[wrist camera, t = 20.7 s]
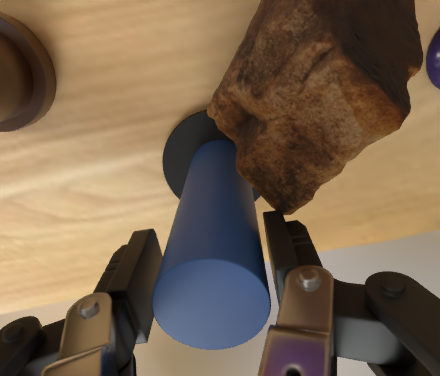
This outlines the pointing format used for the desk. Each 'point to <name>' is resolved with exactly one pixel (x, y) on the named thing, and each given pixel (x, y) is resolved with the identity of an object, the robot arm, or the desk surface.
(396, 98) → the decorative rock
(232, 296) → the tube
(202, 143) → the coaster
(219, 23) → the desk surface
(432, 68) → the toy lamp
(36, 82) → the post
